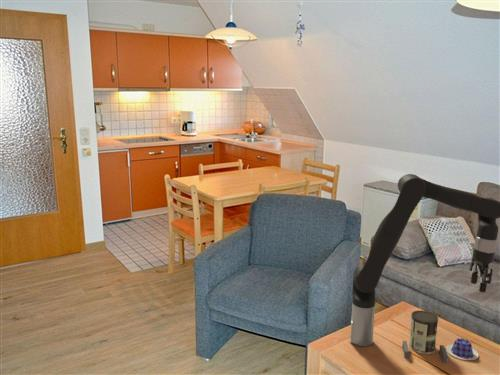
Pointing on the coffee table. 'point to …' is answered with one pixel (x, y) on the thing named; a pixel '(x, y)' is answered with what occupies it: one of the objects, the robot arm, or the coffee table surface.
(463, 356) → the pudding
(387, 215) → the robot arm
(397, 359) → the coffee table surface
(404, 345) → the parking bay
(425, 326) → the coffee can
